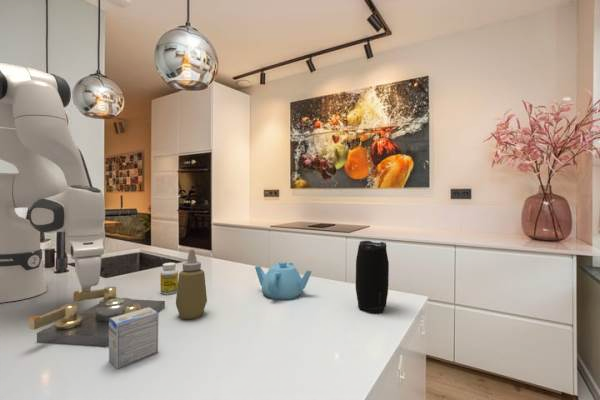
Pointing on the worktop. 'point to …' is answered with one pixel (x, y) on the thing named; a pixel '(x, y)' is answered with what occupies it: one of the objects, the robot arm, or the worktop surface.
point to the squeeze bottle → (191, 289)
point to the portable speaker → (372, 276)
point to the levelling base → (96, 322)
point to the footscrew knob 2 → (96, 294)
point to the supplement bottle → (169, 279)
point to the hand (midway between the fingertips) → (86, 295)
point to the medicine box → (133, 336)
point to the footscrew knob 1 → (58, 318)
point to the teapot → (282, 281)
